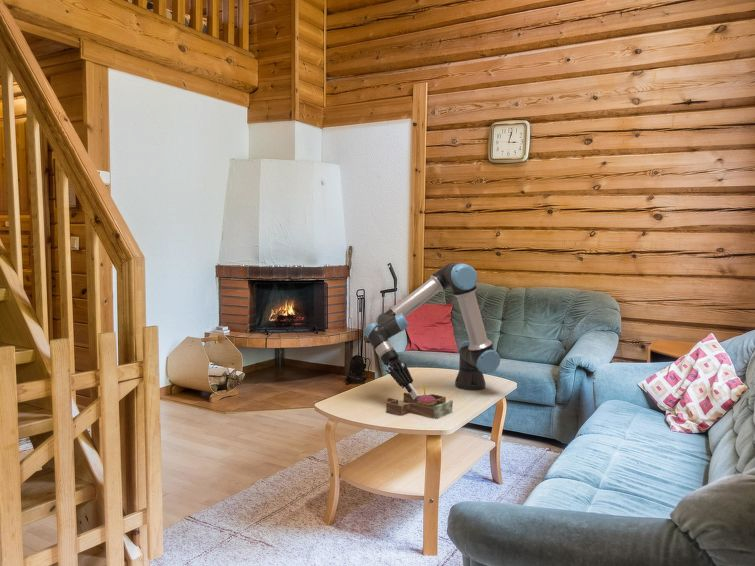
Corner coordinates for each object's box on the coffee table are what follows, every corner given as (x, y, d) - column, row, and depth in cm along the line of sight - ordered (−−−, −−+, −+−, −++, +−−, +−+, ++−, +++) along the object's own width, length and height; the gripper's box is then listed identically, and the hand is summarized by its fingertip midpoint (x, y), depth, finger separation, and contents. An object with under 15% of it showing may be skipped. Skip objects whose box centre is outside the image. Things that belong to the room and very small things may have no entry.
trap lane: (412, 398, 275) (413, 387, 275) (460, 409, 260) (460, 397, 260) (378, 410, 255) (378, 398, 255) (426, 422, 239) (427, 410, 239)
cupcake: (412, 411, 255) (413, 383, 254) (425, 407, 261) (426, 380, 260) (427, 415, 249) (428, 387, 248) (440, 412, 255) (441, 384, 254)
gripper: (391, 356, 273) (419, 399, 264) (373, 360, 263) (402, 405, 254) (400, 346, 270) (430, 390, 260) (383, 350, 259) (412, 395, 250)
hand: (416, 397), depth 257 cm, fingers closed
